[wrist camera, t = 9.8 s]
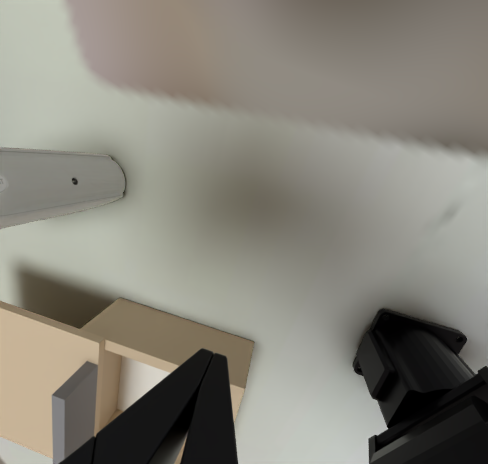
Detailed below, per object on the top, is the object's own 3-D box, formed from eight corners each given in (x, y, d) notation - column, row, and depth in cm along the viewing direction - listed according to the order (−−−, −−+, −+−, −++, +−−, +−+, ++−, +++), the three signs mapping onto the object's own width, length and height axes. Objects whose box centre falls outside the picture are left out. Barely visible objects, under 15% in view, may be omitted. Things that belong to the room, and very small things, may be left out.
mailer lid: (105, 337, 19) (64, 376, 16) (96, 468, 24) (64, 518, 21) (-47, 284, 20) (-113, 308, 17) (-25, 417, 25) (-74, 456, 22)
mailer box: (254, 341, 23) (244, 389, 18) (220, 452, 27) (206, 511, 23) (120, 297, 24) (78, 330, 19) (110, 409, 29) (75, 457, 24)
